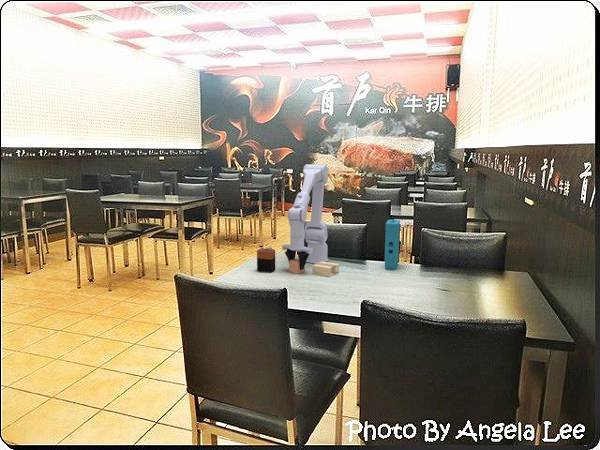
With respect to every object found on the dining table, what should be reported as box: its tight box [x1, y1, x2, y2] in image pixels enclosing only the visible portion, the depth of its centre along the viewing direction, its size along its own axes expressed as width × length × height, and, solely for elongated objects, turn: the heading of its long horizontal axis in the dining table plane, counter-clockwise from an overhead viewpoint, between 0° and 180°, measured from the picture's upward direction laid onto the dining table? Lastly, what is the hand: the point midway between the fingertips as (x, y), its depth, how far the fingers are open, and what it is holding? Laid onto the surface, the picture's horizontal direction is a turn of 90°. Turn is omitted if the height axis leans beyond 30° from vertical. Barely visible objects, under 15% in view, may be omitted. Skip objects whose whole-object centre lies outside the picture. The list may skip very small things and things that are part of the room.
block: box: [384, 219, 401, 271], centre depth 192 cm, size 12×5×20 cm, turn 163°
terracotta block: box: [289, 257, 306, 274], centre depth 185 cm, size 4×4×5 cm
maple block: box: [311, 261, 340, 278], centre depth 183 cm, size 8×8×4 cm
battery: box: [256, 246, 276, 273], centre depth 186 cm, size 4×7×10 cm, turn 68°
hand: (297, 268), depth 185 cm, fingers closed on terracotta block, 4 cm apart
